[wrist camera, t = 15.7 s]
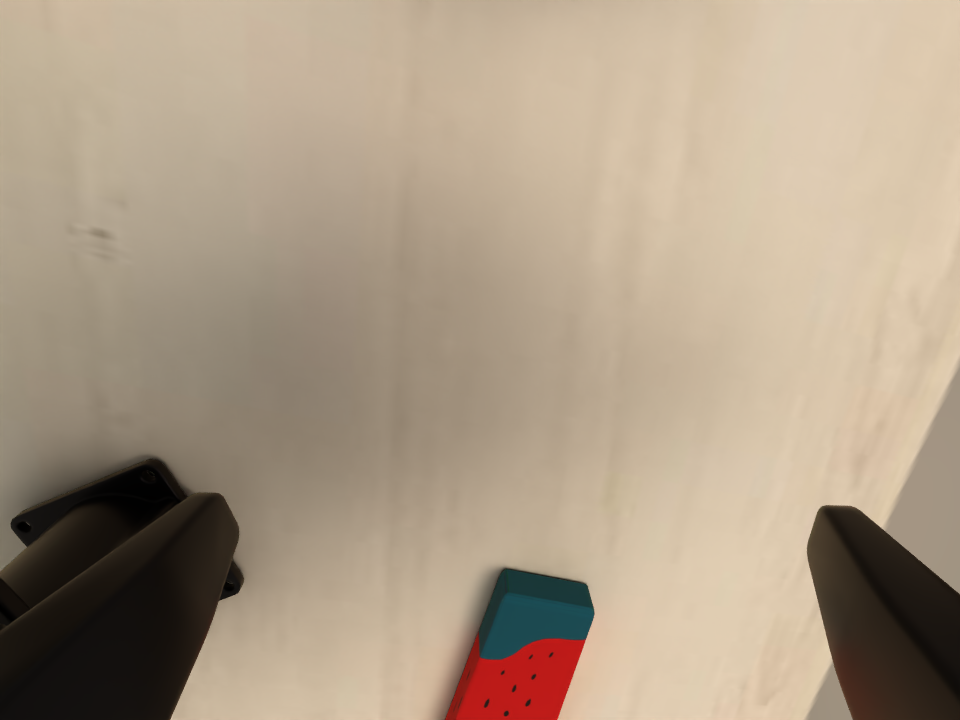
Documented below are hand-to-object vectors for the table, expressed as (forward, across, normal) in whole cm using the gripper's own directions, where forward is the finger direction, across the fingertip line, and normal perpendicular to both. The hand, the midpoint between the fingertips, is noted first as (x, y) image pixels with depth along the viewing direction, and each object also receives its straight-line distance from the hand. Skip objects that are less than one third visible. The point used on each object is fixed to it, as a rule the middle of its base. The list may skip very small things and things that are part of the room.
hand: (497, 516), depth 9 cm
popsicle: (+7, +3, +21) cm, 22 cm away
